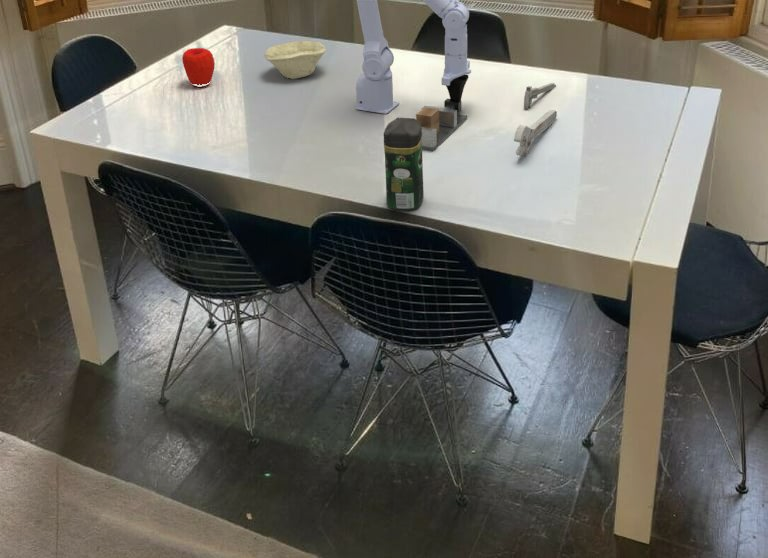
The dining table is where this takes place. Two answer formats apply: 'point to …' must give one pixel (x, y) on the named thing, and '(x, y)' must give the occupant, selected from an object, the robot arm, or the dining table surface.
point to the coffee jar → (403, 164)
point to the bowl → (295, 57)
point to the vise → (439, 134)
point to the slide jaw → (448, 112)
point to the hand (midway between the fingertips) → (455, 102)
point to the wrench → (532, 132)
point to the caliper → (535, 93)
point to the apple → (198, 65)
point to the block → (428, 118)
